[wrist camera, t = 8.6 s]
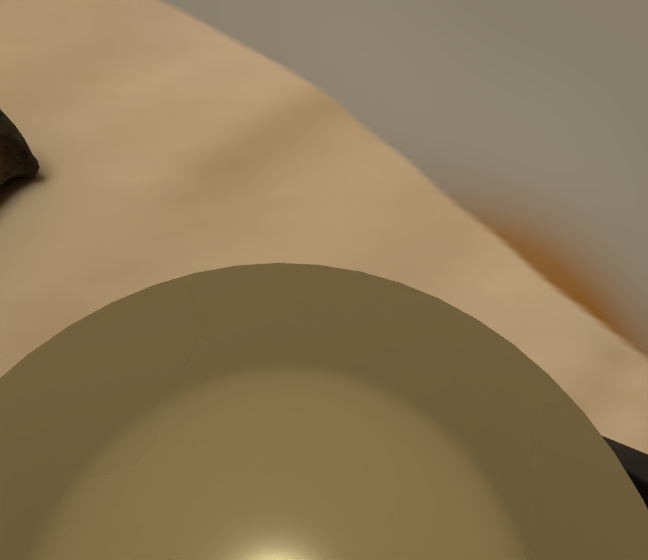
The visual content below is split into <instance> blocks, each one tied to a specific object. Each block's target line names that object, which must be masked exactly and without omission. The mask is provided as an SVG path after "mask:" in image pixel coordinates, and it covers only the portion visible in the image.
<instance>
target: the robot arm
mask: <svg viewBox="0 0 648 560" xmlns="http://www.w3.org/2000/svg"><path fill="white" fill-rule="evenodd" d="M602 437H603V438H604V440H605V441H606V442H607V444H608V445H609V446H610V448H611V449H612V450H613V452H614V453H615V455H616V456H617V458H618V459H619V461H620V463H621V464H622V466H623V468H624V469H625V471H626V473H627V474H628V476H629V477H630V479H631V481H632V482H633V484H634V486H635V487H636V489H637V491H638V492H639V494H640V496H641V497H642V499H643V500H644V502H645V505H646V507H647V509H648V454H645V453H643V452H640V451H638V450H636V449H633V448H631V447H628V446H626V445H623V444H621V443H618V442H616V441H613V440H611V439H609V438H606V437H604V436H602Z"/></svg>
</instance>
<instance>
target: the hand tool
mask: <svg viewBox="0 0 648 560" xmlns="http://www.w3.org/2000/svg"><path fill="white" fill-rule="evenodd" d="M38 169H39V164H38V161H37V160H36V158H35V157H34V156H33V155H32V153H31V151H30V149H29V147H28V145H27V143H26V141H25V139H24V138H23V136H22V135H21V133H20V132H19V130H18V129H17V128H16V126H15V125H14V124H13V123H12V122H11V121H10V119H9V118H8V117H7V116H6V115H5V114H4V113H3V112H2V111H1V109H0V185H2V184H3V183H4V182H5V181H7V180H8V179H9V178H13V177H24V178H27V179H31V178H34V177H35V175H36V173H37V171H38Z"/></svg>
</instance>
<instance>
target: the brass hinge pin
mask: <svg viewBox="0 0 648 560" xmlns="http://www.w3.org/2000/svg"><path fill="white" fill-rule="evenodd" d="M0 560H648V509H647V507H646V505H645V502H644V500H643V499H642V497H641V496H640V494H639V492H638V491H637V489H636V487H635V486H634V484H633V482H632V481H631V479H630V477H629V476H628V474H627V473H626V471H625V469H624V468H623V466H622V464H621V463H620V461H619V459H618V458H617V456H616V455H615V453H614V452H613V450H612V449H611V448H610V446H609V445H608V444H607V442H606V441H605V440H604V438H603V437H602V436H601V435H600V433H599V432H598V431H597V429H596V428H595V427H594V425H593V424H592V423H591V421H590V420H589V419H588V417H587V416H586V415H585V413H584V412H583V411H582V410H581V409H580V408H579V407H578V406H577V405H576V403H575V402H574V401H573V400H572V399H571V398H570V397H569V396H568V395H567V394H566V393H565V392H564V391H563V390H562V389H561V387H560V386H559V385H558V384H557V383H556V382H555V381H554V380H553V379H552V378H551V377H550V376H549V375H548V374H547V373H546V372H545V371H543V370H542V369H541V368H540V367H539V366H538V365H537V364H535V363H534V362H533V361H532V360H531V359H530V358H528V357H527V356H526V355H525V354H524V353H523V352H522V351H520V350H519V349H518V348H517V347H516V346H515V345H513V344H512V343H510V342H509V341H508V340H506V339H505V338H503V337H502V336H500V335H499V334H497V333H496V332H495V331H493V330H492V329H490V328H489V327H487V326H486V325H484V324H483V323H482V322H480V321H479V320H477V319H475V318H474V317H472V316H470V315H468V314H466V313H464V312H462V311H461V310H459V309H457V308H455V307H453V306H451V305H450V304H448V303H446V302H444V301H442V300H440V299H438V298H436V297H433V296H431V295H428V294H426V293H424V292H421V291H419V290H416V289H414V288H411V287H409V286H406V285H404V284H401V283H399V282H395V281H391V280H388V279H384V278H381V277H377V276H374V275H370V274H366V273H363V272H359V271H353V270H347V269H341V268H334V267H328V266H322V265H308V264H287V263H271V264H256V265H241V266H232V267H227V268H221V269H216V270H210V271H205V272H199V273H194V274H190V275H187V276H184V277H180V278H177V279H173V280H170V281H167V282H163V283H160V284H157V285H153V286H151V287H148V288H146V289H143V290H141V291H139V292H136V293H134V294H131V295H129V296H127V297H124V298H122V299H119V300H117V301H115V302H112V303H110V304H108V305H106V306H105V307H103V308H101V309H99V310H97V311H95V312H94V313H92V314H90V315H88V316H86V317H85V318H83V319H81V320H79V321H77V322H75V323H74V324H72V325H70V326H68V327H67V328H65V329H64V330H63V331H61V332H60V333H58V334H57V335H55V336H54V337H52V338H51V339H50V340H48V341H47V342H45V343H44V344H42V345H41V346H40V347H38V348H37V349H35V350H34V351H32V352H31V353H29V354H28V355H27V356H26V357H24V358H23V359H22V360H21V361H20V362H19V363H17V364H16V365H15V366H14V367H13V368H12V369H10V370H9V371H8V372H7V373H6V374H5V375H3V376H2V377H1V378H0Z"/></svg>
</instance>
